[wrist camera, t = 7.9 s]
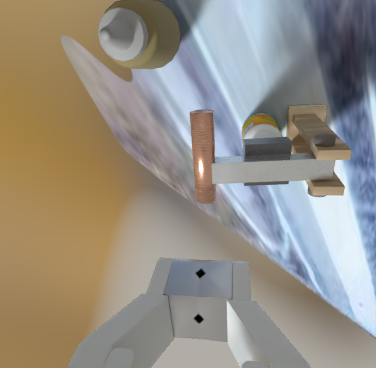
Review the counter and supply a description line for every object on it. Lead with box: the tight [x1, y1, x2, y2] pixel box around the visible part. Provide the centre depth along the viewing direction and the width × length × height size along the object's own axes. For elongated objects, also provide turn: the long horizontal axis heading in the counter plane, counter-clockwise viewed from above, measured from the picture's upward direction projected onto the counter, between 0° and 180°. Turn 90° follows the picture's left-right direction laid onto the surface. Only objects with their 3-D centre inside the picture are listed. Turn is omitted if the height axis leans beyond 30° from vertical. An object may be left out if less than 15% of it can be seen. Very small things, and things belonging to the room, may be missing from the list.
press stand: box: [286, 105, 352, 197], centre depth 36 cm, size 7×5×16 cm
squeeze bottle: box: [98, 0, 181, 69], centre depth 33 cm, size 8×8×18 cm
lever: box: [190, 110, 335, 204], centre depth 32 cm, size 10×15×4 cm
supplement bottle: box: [242, 113, 283, 148], centre depth 40 cm, size 5×5×10 cm
